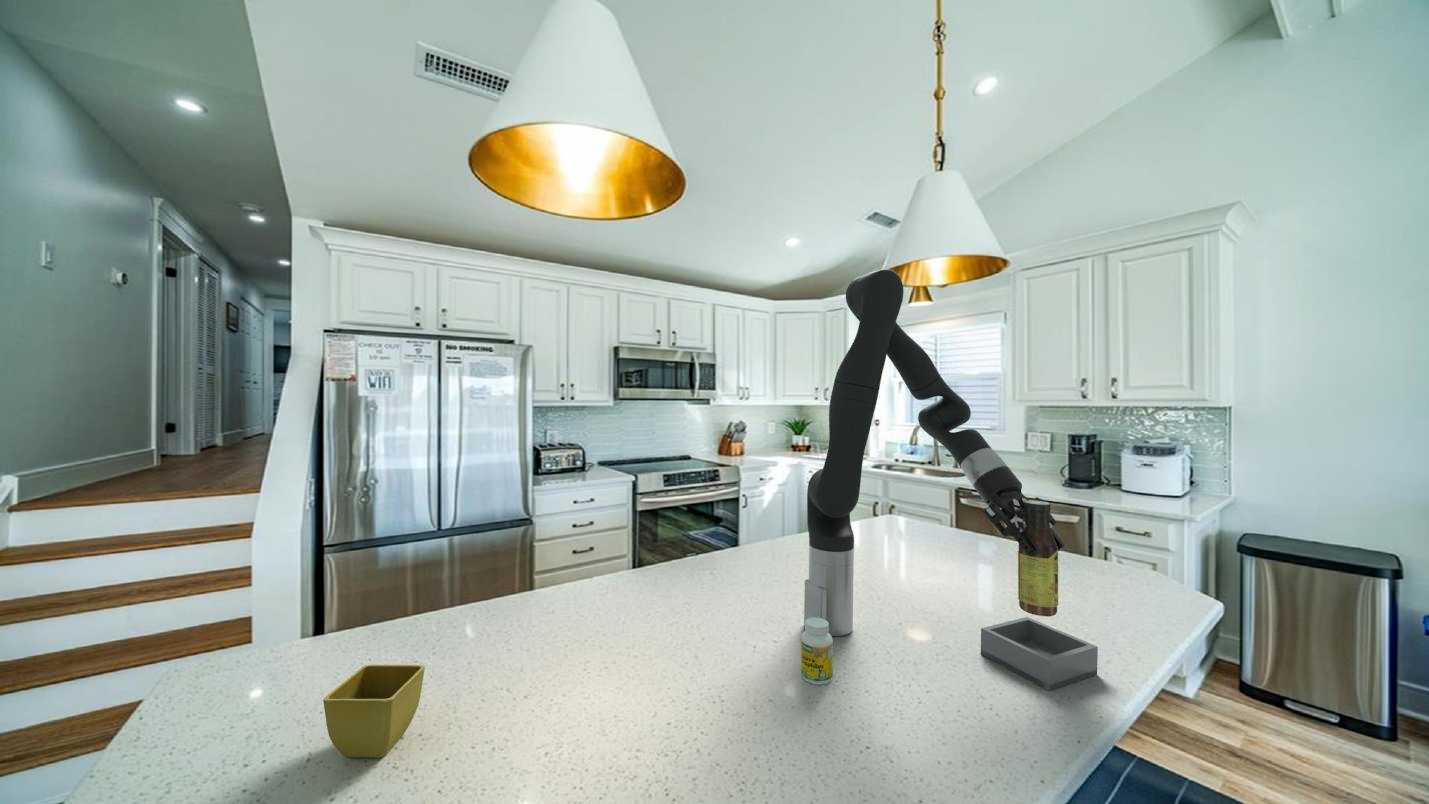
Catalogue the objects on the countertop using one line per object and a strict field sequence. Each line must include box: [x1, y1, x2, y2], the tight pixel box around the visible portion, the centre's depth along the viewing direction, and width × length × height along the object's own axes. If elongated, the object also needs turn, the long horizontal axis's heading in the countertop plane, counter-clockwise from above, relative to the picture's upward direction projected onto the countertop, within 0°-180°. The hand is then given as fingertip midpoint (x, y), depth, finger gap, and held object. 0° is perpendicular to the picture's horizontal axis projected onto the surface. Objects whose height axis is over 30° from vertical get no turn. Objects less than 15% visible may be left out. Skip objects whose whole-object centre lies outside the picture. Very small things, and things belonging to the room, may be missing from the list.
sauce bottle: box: [1017, 500, 1059, 617], centre depth 93 cm, size 6×6×20 cm
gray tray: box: [980, 616, 1099, 692], centre depth 93 cm, size 13×13×5 cm
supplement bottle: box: [800, 618, 834, 686], centre depth 88 cm, size 5×5×10 cm
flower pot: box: [322, 664, 426, 758], centre depth 70 cm, size 9×9×9 cm
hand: (1047, 551), depth 92 cm, fingers closed on sauce bottle, 6 cm apart
